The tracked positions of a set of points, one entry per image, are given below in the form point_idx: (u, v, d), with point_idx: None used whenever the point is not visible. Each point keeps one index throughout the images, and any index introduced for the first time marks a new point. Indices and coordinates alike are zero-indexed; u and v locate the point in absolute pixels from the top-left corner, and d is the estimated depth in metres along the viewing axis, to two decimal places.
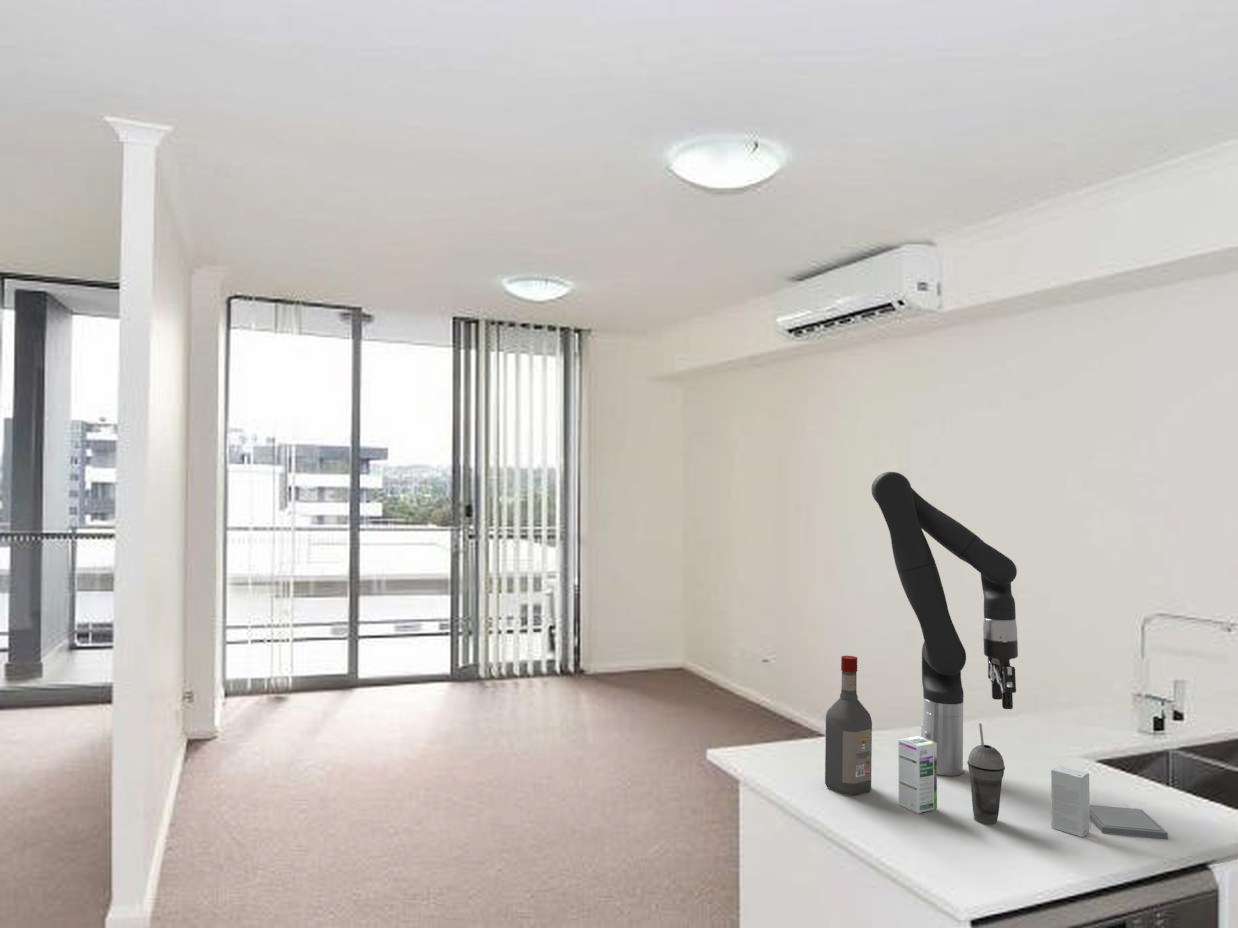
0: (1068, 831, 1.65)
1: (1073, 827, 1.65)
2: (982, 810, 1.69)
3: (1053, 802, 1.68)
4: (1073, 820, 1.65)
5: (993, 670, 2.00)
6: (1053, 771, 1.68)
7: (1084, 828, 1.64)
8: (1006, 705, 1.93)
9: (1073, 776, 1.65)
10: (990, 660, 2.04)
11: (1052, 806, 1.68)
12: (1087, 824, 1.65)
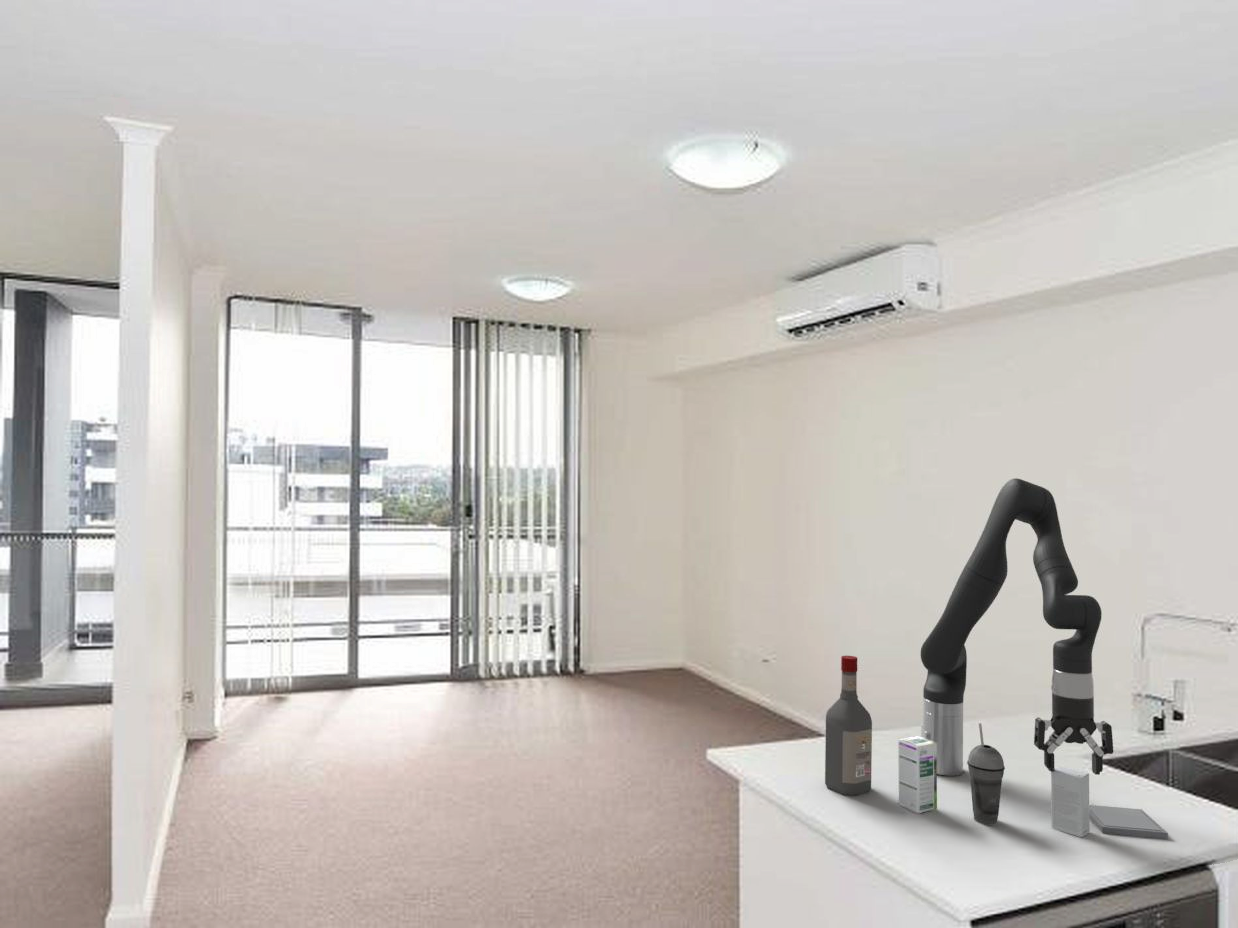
0: (1068, 831, 1.65)
1: (1073, 828, 1.65)
2: (982, 810, 1.69)
3: (1053, 802, 1.68)
4: (1073, 821, 1.65)
5: None
6: None
7: (1084, 829, 1.64)
8: None
9: (1073, 777, 1.65)
10: None
11: (1052, 806, 1.68)
12: (1087, 824, 1.65)
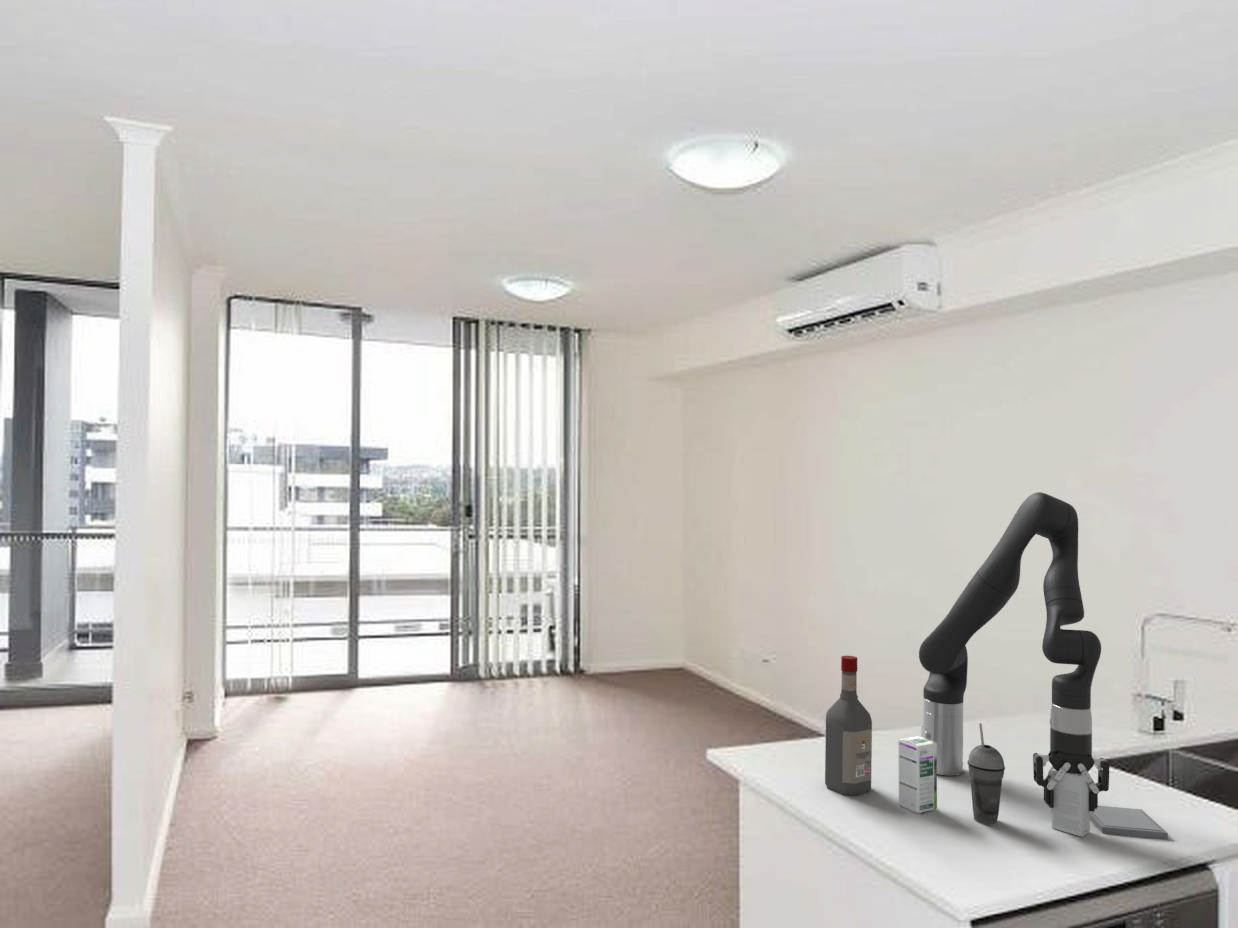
0: (1068, 831, 1.65)
1: (1073, 827, 1.65)
2: (982, 810, 1.69)
3: None
4: (1073, 820, 1.65)
5: (1065, 770, 1.66)
6: (1053, 771, 1.68)
7: (1084, 828, 1.64)
8: None
9: (1073, 776, 1.65)
10: None
11: None
12: (1087, 824, 1.65)
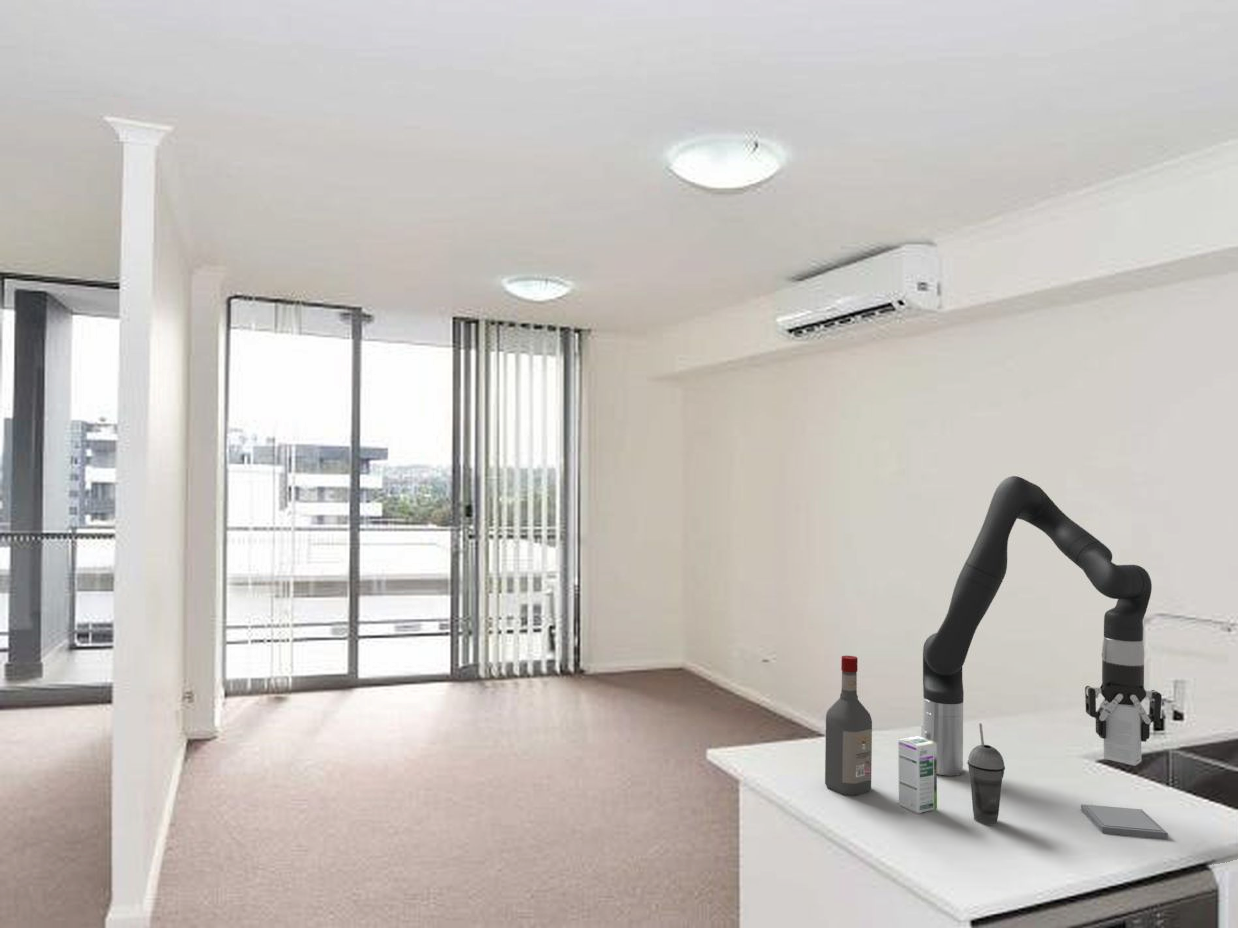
0: (1121, 761, 1.69)
1: (1126, 757, 1.68)
2: (982, 810, 1.69)
3: None
4: (1126, 750, 1.68)
5: None
6: (1105, 703, 1.72)
7: (1136, 757, 1.68)
8: None
9: (1126, 707, 1.69)
10: None
11: None
12: (1139, 754, 1.69)
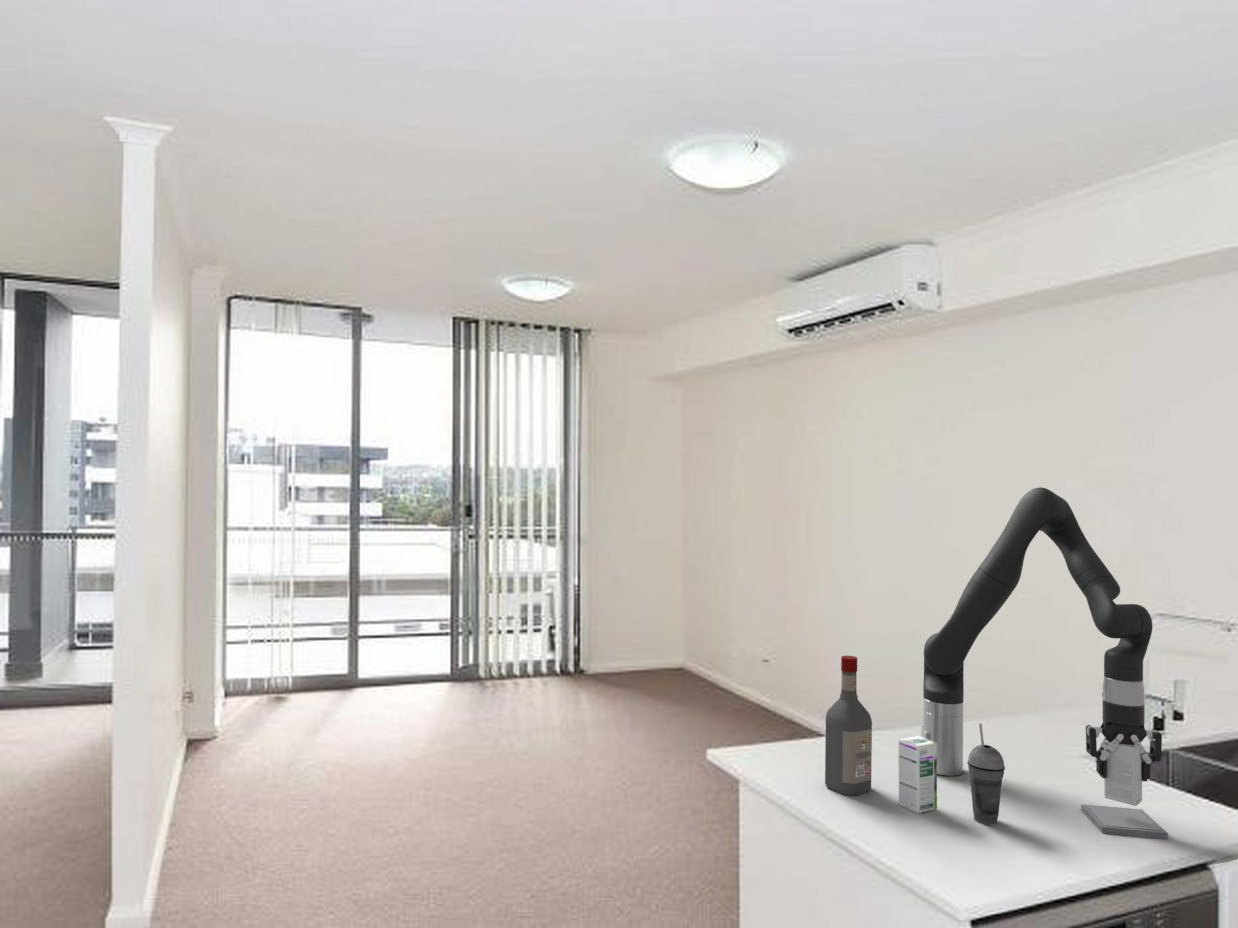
0: (1122, 801, 1.69)
1: (1127, 797, 1.68)
2: (982, 810, 1.69)
3: None
4: (1127, 790, 1.68)
5: None
6: (1106, 742, 1.72)
7: (1137, 798, 1.68)
8: None
9: (1126, 747, 1.69)
10: None
11: None
12: (1140, 794, 1.69)
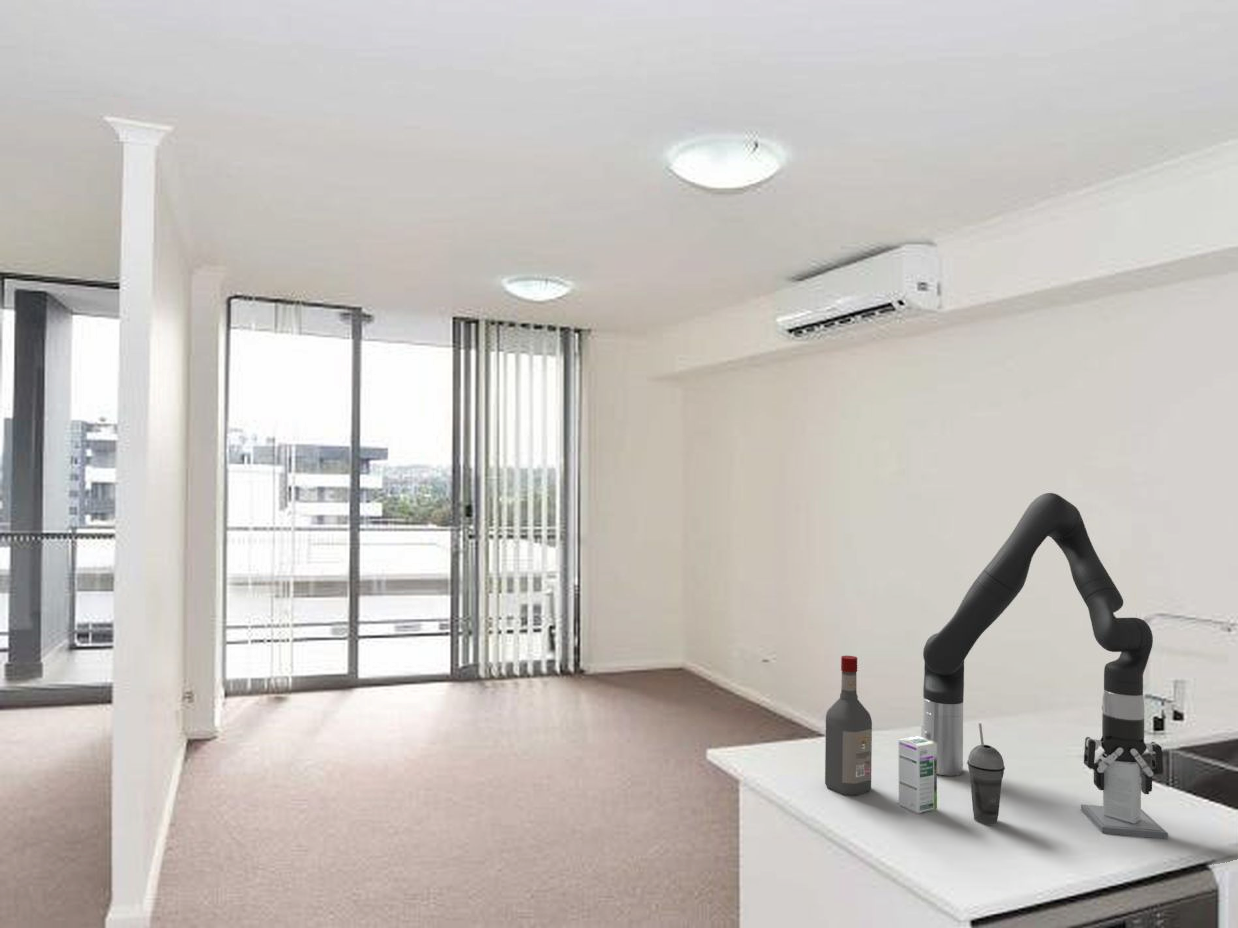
0: (1120, 818, 1.69)
1: (1125, 815, 1.68)
2: (982, 810, 1.69)
3: (1105, 790, 1.71)
4: (1126, 808, 1.68)
5: (1117, 755, 1.70)
6: None
7: (1136, 815, 1.68)
8: None
9: (1125, 765, 1.69)
10: None
11: (1104, 794, 1.71)
12: (1139, 811, 1.69)
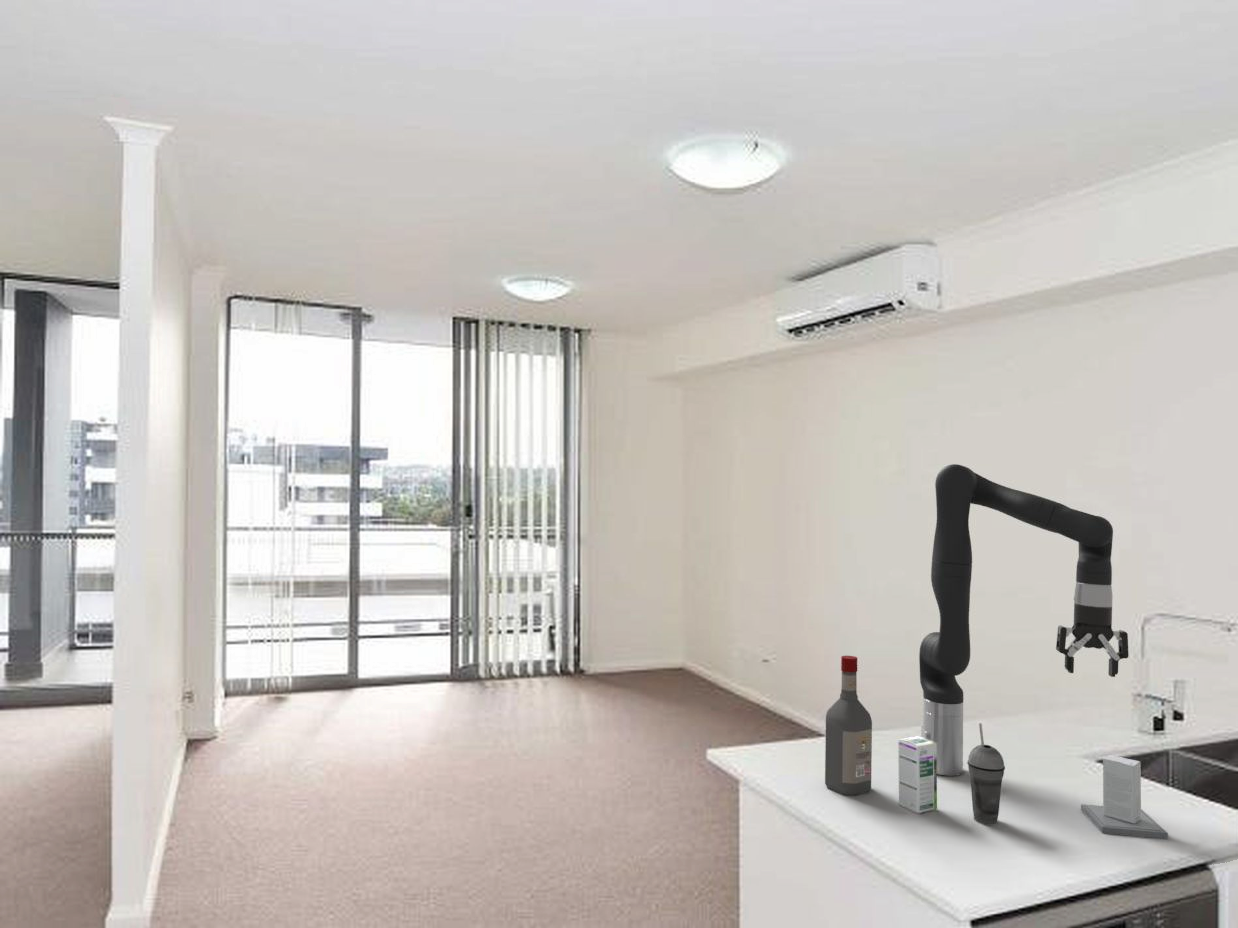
0: (1120, 818, 1.69)
1: (1125, 815, 1.68)
2: (982, 810, 1.69)
3: (1104, 790, 1.71)
4: (1126, 808, 1.68)
5: (1086, 641, 1.85)
6: (1105, 760, 1.72)
7: (1136, 815, 1.68)
8: None
9: (1125, 765, 1.69)
10: None
11: (1104, 794, 1.71)
12: (1139, 811, 1.69)
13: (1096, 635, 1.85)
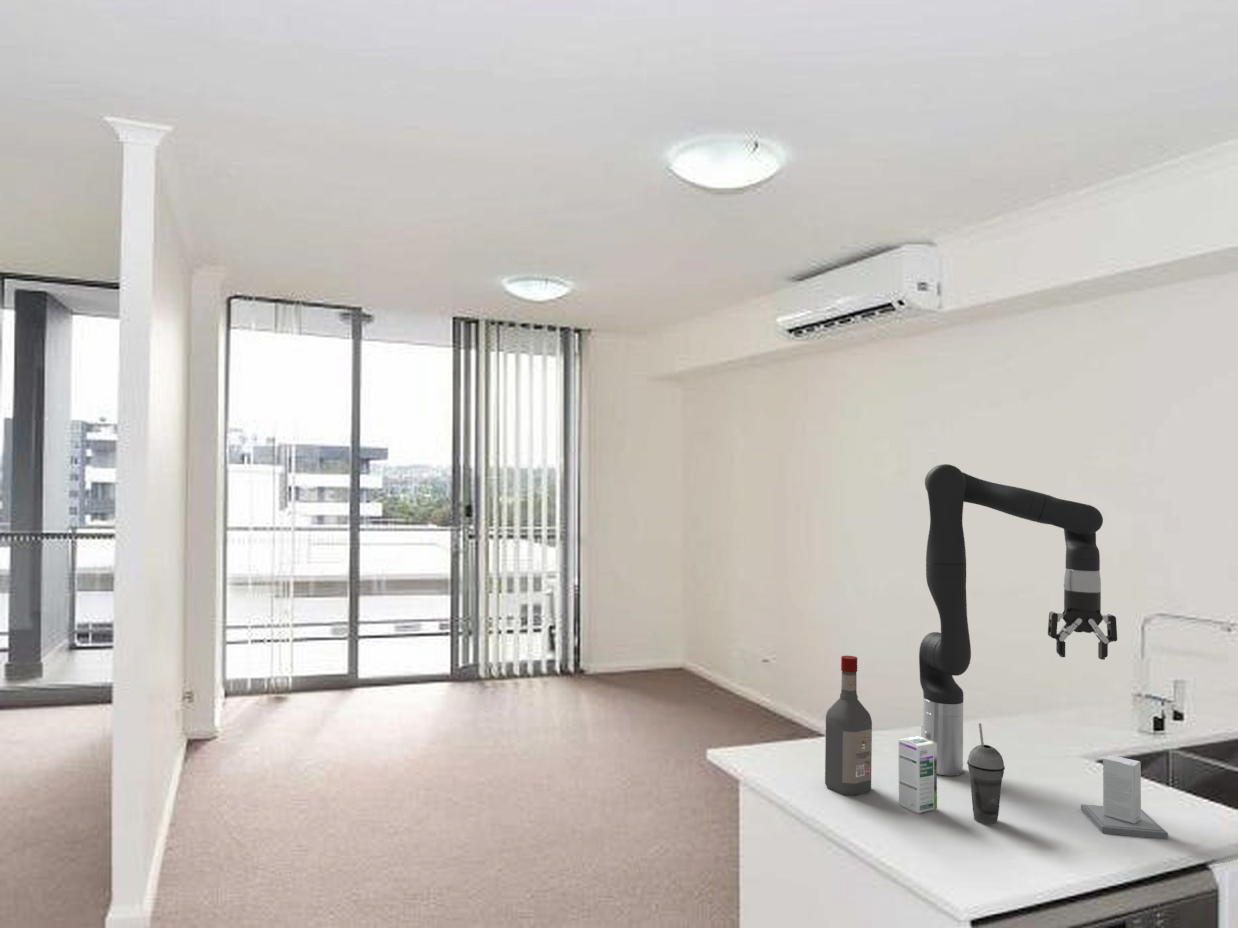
0: (1120, 818, 1.69)
1: (1125, 815, 1.68)
2: (982, 810, 1.69)
3: (1104, 790, 1.71)
4: (1126, 808, 1.68)
5: (1077, 625, 1.91)
6: (1105, 760, 1.71)
7: (1136, 815, 1.68)
8: None
9: (1125, 765, 1.69)
10: None
11: (1104, 794, 1.71)
12: (1139, 811, 1.69)
13: (1086, 620, 1.91)
